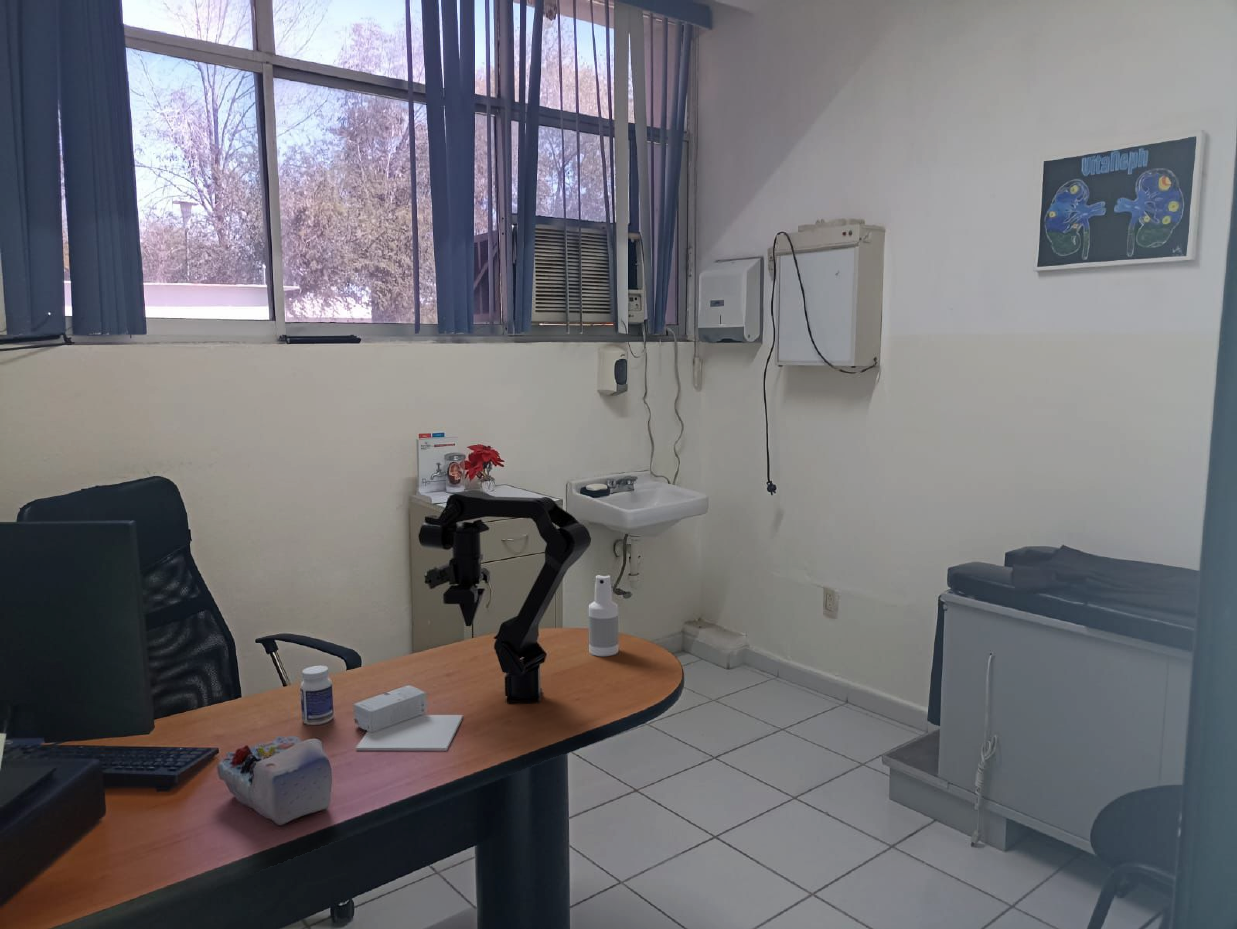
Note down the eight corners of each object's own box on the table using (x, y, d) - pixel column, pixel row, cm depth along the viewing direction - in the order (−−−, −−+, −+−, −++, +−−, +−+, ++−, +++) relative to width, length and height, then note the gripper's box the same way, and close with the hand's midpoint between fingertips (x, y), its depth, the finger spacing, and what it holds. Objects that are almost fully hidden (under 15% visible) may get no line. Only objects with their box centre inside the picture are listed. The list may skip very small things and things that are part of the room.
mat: (462, 717, 166) (462, 715, 166) (446, 750, 152) (446, 747, 152) (379, 717, 166) (379, 715, 166) (355, 750, 152) (355, 747, 152)
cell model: (267, 768, 123) (206, 732, 136) (273, 840, 124) (212, 798, 137) (350, 737, 132) (285, 706, 146) (354, 804, 134) (290, 768, 147)
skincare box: (426, 691, 166) (370, 710, 157) (427, 714, 167) (371, 734, 158) (407, 684, 170) (352, 701, 161) (408, 706, 171) (353, 725, 162)
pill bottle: (340, 716, 167) (337, 666, 166) (318, 728, 162) (315, 676, 160) (317, 711, 169) (314, 662, 168) (295, 723, 164) (292, 672, 163)
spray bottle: (586, 656, 199) (585, 579, 197) (592, 646, 206) (591, 572, 204) (615, 657, 198) (615, 580, 196) (620, 647, 205) (620, 573, 202)
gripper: (438, 542, 188) (440, 612, 190) (416, 562, 169) (418, 640, 171) (489, 542, 187) (491, 612, 189) (472, 562, 169) (475, 640, 171)
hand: (468, 625), depth 180 cm, fingers closed
